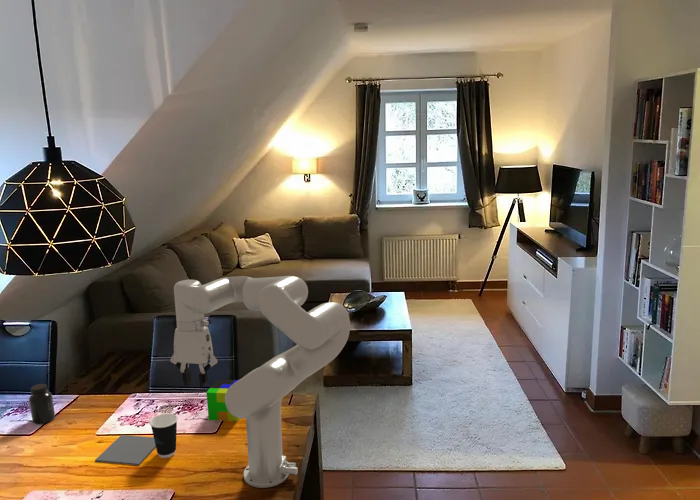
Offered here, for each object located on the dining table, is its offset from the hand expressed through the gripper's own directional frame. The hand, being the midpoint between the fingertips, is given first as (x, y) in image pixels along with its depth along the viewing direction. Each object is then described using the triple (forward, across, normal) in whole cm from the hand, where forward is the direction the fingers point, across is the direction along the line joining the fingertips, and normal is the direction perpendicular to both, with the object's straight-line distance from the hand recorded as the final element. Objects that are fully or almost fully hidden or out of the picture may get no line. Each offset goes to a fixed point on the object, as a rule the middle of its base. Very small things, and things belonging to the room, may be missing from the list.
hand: (195, 383), depth 167 cm
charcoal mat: (+23, +23, 0) cm, 33 cm away
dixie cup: (+24, +11, 0) cm, 26 cm away
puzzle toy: (+24, +2, -26) cm, 35 cm away
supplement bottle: (+24, +62, -13) cm, 68 cm away
